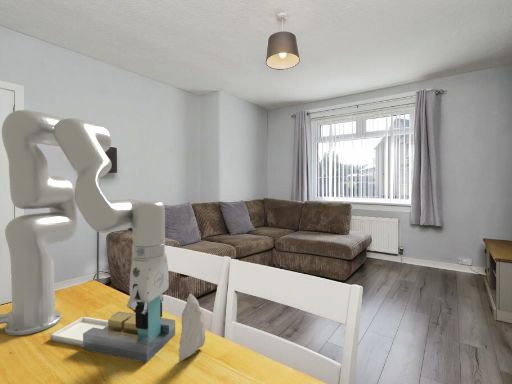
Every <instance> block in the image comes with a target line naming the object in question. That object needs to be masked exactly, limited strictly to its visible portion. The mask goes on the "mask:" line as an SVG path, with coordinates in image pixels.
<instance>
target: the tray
mask: <svg viewBox="0 0 512 384" xmlns="http://www.w3.org/2000/svg"><path fill="white" fill-rule="evenodd" d="M108 320H109V319H101V318H94V317H88V316H81V317H80V318H78V319H77V320H75V321H73V322H71V323H69V324H67V325H65V326H64V327H62V328H60V329H58V330H56V331H54V332H52V333H51V334H50V335H49V341H53V342H58V343H63V344H67V345H73V346H77V347H82V348H83V333H85V332H86V331H88V330H90V329H91V328H93V327H94V328H99V329H103V328H105V327H107V326H108Z"/></svg>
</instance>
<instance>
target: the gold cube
mask: <svg viewBox="0 0 512 384" xmlns="http://www.w3.org/2000/svg"><path fill="white" fill-rule="evenodd" d="M124 333H128V334H134V335H138V328H136V319H135V315H134V316H133V317H131V318H130V319H128V320H127V321H125V322H124Z"/></svg>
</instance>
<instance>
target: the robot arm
mask: <svg viewBox="0 0 512 384" xmlns="http://www.w3.org/2000/svg"><path fill="white" fill-rule="evenodd" d="M1 137H2V138H1V139H2V143H3V146H4V150H5V152H6V155H7V159H8V160H7V161H8V176H9V177H8V178H9V190H10V191H9V192H10V199H11V202H12V204H13V206H14V207H16V208H18V209H20V210H39V209H49V212H39V213H38V212H37V213H30V214H23V215H19V216H17V217H15V218H12V219H11V220H10V221H9V222H8V223H7V224H6V227H5V231H4V233H5V239H6V244H7V246H8V252H9V256H10V257H9V258H10V273H11V278H10V281H11V311H8V312H7V313H0V325H1V324H6V325H5V326H4V333H5V334H7V335H9V336H25V335H31V334H36V333H38V332H42V331H44V330H46V329H50V328H51V327H53V326H54V325H56V324H58V323H59V322H60V321H61V319H62V312H61V311H58V310H56V307H55V305H56V303H55V301H56V300H55V299H56V298H55V295H56V294H55V293H56V292H55V260H54V257H53V255H52V254H51V253H50V251H49V250H48V249H47V247H46V246H49V245H53V244H57V243H58V244H59V243H62V242H65V241H68V240H71V239H72V238H74V236H75V235H76V233H77V230H78V210H79V212H80V213H81V215H82V217H83V219H84V220H85V222H86V223H87V225H89V227H90V228H91V229H92V230H94V231H95V232H98V233H101V234H108V233H113V232H114V233H115V232H117V231H121V230H127V229H132V260H131V265H130V272H129V299H128V301H127V303H126V307H127V309H130V310H132V311H133V314H135V319H136V328H139V329H145V330H146V329H148V312H146V311H147V305H148V303H147V302H150V301H151V300H153V299H154V298H156V297H157V296H159V295H160V294H161V295H160V313H161V318H163V301H164V299H165V298H164V295H165V293H166V291H168V289H169V288H170V287H169V286H170V284H169V283H170V280H169V278H170V277H169V274H170V273H169V263H168V259H167V258H168V257H167V254H166V248H165V247H166V208H165V205H164V204H165V203H163V202H161V201H156V200H145V201H144V200H143V201H142V200H137V199H129V198H128V199H115V200H107V198H106V197H105V195H104V194H103V192H102V190H101V188H100V187H99V184H98V180H99V179H101V178H103V177H104V176H105V175H107V174H108V173H109V172H110V171H111V169H112V161H111V159H110V158H109V157H108V155H107V154H106V153H107V151H108V150H109V149H110V148H111V145H112V136H111V134H110V132H109V131H108V129H107V128H106V127H104V126H102V125H101V124H98V123H93V122H90V121H86V120H83V119H80V118H79V119H78V118H63V117H60V116H55V115H52V114H49V113H43V112H39V111H35V110H26V109H21V110H20V109H19V110H14V111H11V112H10V113H9V114H8V115H7V116H6V117H5V119H4V120H3V123H2V125H1ZM38 144H41V145H46V146H54V147H60V149H61V151H62V152H63V153H64V155H65V157H66V159H67V160H68V162H69V163H70V165H71V167H72V169H73V170H74V172H75V173H76V175H77V178H76V180H75V184H74V185H73V183H72V182H71V181H70V180H69V179H67V178H66V177H64V176H63V177H62V176H55V175H54V176H52V175H51V176H50V175H49V167H48V159H47V157H46V156H45V154H44V153H43V151H42V149H41V148H39V146H37V145H38ZM139 298H140V299H139ZM140 302H142V303H143V306H142V307H141V306H140Z"/></svg>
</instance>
